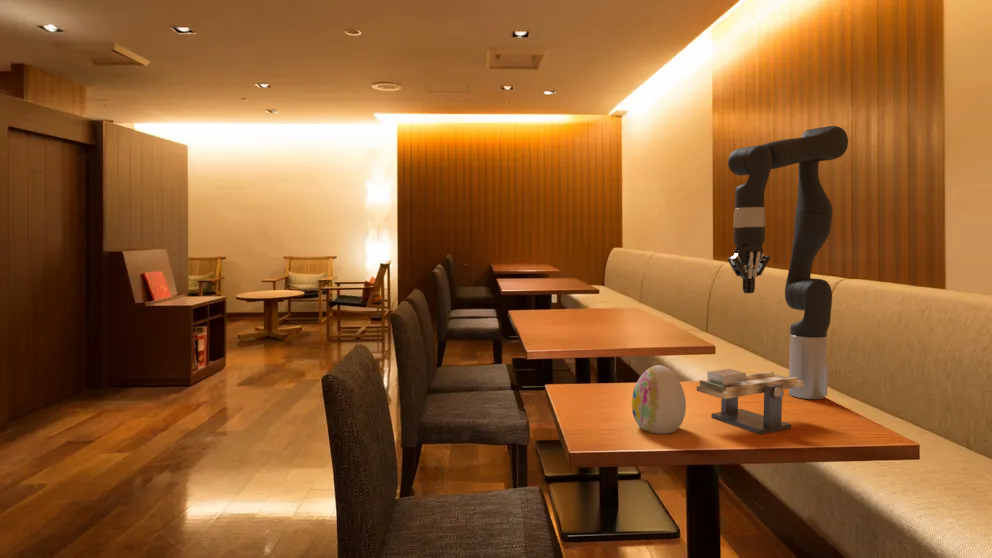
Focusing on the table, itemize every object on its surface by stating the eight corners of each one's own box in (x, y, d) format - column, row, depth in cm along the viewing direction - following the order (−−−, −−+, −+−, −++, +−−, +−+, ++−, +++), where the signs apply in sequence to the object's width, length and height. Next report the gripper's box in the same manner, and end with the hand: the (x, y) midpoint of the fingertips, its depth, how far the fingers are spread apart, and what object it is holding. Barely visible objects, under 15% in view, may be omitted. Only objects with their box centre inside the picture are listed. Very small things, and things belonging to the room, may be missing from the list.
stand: (738, 411, 161) (739, 371, 160) (793, 429, 146) (795, 384, 145) (709, 416, 157) (709, 375, 156) (763, 435, 142) (764, 389, 141)
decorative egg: (627, 421, 153) (627, 360, 152) (677, 421, 153) (678, 360, 152) (636, 436, 141) (637, 371, 140) (691, 437, 141) (692, 371, 140)
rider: (729, 383, 152) (729, 368, 151) (745, 387, 147) (745, 372, 147) (707, 386, 149) (707, 371, 148) (723, 390, 144) (723, 375, 144)
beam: (770, 379, 161) (771, 367, 161) (807, 388, 152) (807, 375, 151) (693, 391, 150) (693, 378, 150) (727, 401, 141) (727, 388, 140)
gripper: (755, 225, 167) (755, 290, 168) (719, 226, 161) (718, 293, 162) (779, 225, 160) (778, 292, 161) (742, 225, 154) (741, 295, 156)
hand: (748, 292), depth 162 cm, fingers closed
